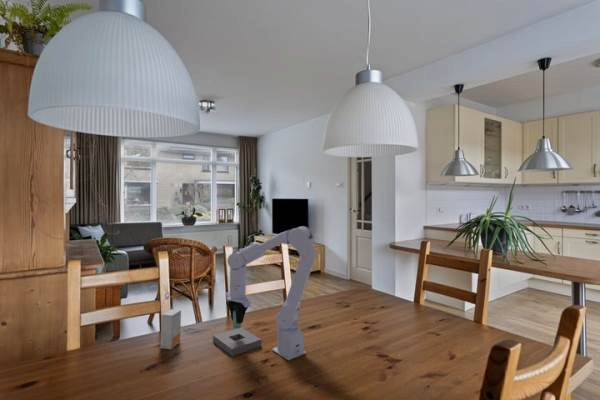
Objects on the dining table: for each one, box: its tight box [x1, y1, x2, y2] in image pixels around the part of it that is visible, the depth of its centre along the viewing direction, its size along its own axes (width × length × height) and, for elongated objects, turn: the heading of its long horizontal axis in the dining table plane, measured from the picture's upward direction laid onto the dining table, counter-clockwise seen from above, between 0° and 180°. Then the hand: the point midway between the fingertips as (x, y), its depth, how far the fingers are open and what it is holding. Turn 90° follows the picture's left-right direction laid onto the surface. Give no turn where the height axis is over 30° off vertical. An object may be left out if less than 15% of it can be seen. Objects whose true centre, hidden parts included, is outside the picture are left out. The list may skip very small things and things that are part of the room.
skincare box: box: [160, 309, 182, 350], centre depth 117 cm, size 6×4×12 cm
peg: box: [232, 310, 242, 329], centre depth 119 cm, size 3×3×6 cm
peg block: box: [212, 326, 262, 357], centre depth 119 cm, size 14×12×2 cm
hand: (237, 321), depth 119 cm, fingers closed on peg, 3 cm apart
